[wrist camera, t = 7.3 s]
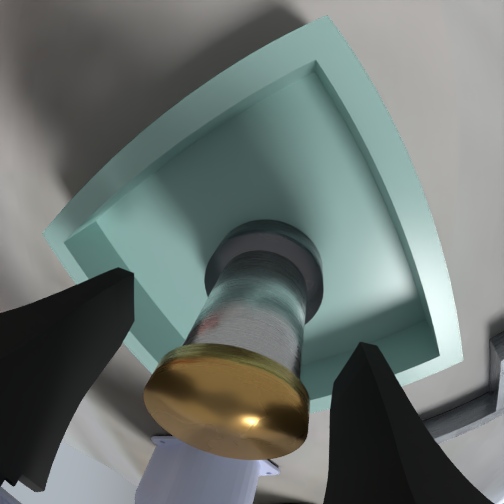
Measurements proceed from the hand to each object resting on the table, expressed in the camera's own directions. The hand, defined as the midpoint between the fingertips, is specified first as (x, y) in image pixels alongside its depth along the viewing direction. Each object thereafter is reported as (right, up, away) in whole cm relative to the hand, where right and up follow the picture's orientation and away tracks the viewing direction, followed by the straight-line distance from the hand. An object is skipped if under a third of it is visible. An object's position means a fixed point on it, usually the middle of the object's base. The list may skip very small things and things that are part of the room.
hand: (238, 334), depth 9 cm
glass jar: (+1, +2, +3) cm, 4 cm away
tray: (+1, +2, +4) cm, 4 cm away
